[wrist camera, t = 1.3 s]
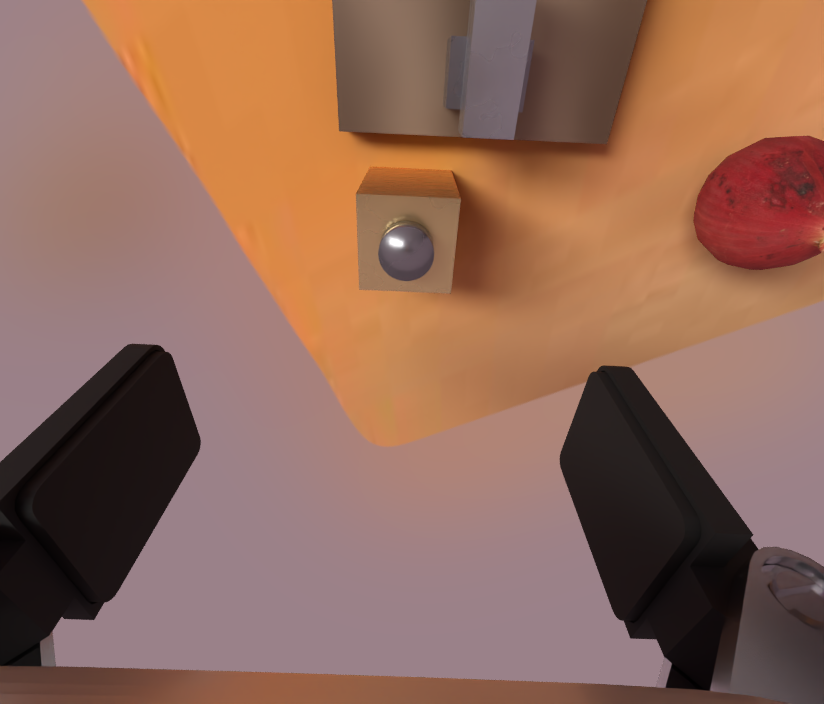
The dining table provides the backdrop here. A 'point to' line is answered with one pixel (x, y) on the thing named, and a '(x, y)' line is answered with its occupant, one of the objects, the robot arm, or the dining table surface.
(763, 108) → the dining table surface
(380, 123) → the base board
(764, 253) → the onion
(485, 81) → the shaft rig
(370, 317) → the dining table surface
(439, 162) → the dining table surface
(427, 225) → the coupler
